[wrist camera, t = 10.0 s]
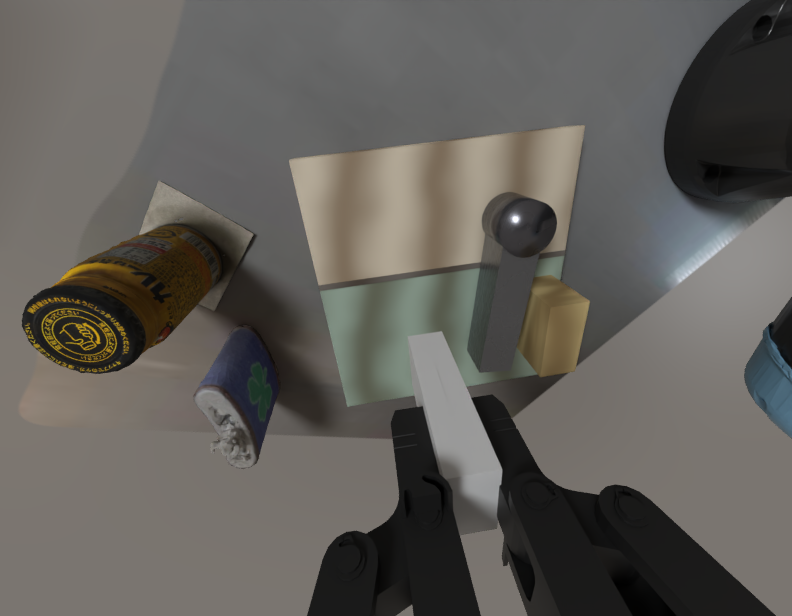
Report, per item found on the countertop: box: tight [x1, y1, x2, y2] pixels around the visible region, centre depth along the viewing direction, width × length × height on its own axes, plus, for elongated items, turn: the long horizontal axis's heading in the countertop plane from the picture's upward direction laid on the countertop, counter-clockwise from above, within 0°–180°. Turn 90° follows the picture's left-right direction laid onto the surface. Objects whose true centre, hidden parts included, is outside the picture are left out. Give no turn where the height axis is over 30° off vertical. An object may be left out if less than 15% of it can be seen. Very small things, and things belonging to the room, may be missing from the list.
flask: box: [193, 325, 280, 469], centre depth 28 cm, size 9×3×11 cm, turn 7°
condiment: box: [22, 181, 253, 374], centre depth 22 cm, size 7×8×12 cm
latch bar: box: [467, 192, 557, 373], centre depth 27 cm, size 15×4×4 cm, turn 178°
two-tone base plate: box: [289, 125, 590, 407], centre depth 28 cm, size 22×24×8 cm
